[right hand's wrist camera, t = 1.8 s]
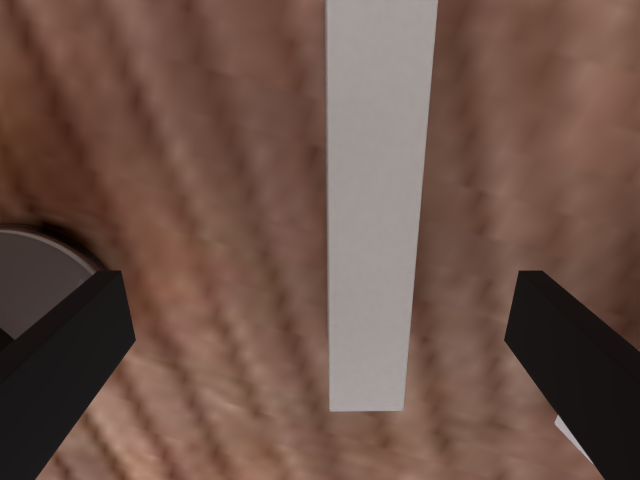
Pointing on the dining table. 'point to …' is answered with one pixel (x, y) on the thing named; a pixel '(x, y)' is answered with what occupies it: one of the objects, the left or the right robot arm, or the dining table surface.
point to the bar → (374, 191)
